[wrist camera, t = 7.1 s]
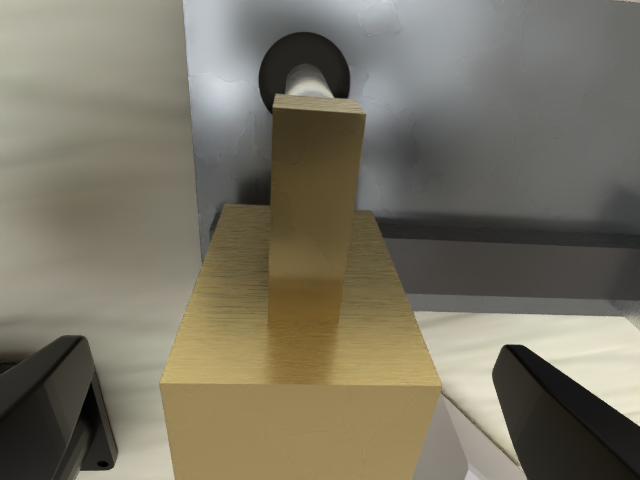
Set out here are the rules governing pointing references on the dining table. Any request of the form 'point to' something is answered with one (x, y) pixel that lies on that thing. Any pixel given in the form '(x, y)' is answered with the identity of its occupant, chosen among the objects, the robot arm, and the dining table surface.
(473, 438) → the charger
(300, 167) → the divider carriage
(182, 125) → the dining table surface
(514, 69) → the dividers base
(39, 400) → the robot arm
